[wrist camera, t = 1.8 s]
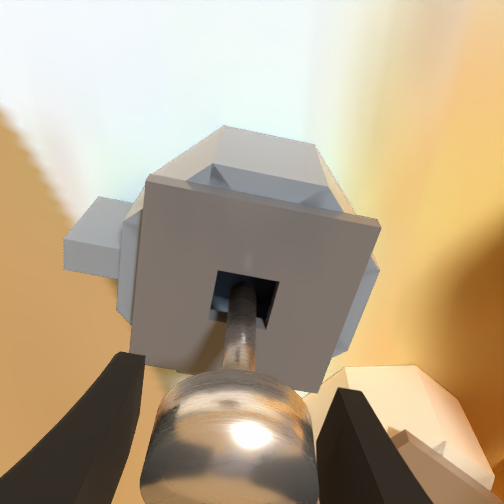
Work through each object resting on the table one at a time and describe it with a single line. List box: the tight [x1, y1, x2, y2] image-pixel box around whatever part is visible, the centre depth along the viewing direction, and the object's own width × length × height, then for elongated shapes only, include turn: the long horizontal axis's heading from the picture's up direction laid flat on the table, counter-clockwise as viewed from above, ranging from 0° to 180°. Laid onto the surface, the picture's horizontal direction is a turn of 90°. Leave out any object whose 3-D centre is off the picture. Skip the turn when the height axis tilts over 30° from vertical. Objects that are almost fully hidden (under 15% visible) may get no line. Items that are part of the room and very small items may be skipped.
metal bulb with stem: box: [140, 281, 319, 504], centre depth 12 cm, size 4×4×7 cm
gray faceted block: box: [64, 125, 381, 394], centre depth 17 cm, size 10×8×5 cm
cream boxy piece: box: [302, 365, 504, 504], centre depth 23 cm, size 10×8×5 cm
